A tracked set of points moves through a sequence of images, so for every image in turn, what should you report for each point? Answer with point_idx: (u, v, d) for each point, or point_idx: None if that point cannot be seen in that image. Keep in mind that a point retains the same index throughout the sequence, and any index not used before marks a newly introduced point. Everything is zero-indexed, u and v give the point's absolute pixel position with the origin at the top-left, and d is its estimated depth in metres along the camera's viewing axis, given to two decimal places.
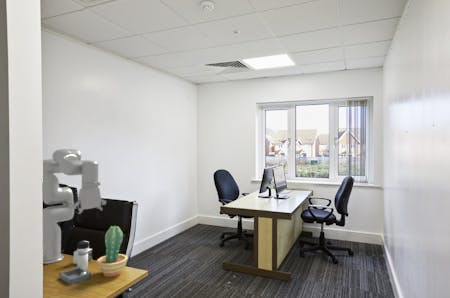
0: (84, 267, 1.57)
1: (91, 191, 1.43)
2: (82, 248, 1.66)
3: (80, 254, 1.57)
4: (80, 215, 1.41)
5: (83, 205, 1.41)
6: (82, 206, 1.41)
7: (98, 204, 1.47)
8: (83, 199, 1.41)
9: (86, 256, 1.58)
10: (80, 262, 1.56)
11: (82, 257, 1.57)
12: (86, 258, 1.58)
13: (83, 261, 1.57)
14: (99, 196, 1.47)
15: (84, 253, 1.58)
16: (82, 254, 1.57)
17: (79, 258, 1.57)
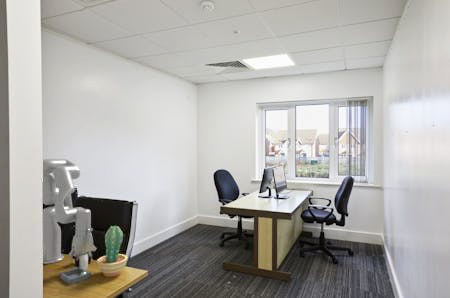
0: (84, 267, 1.57)
1: (83, 238, 1.57)
2: None
3: (80, 254, 1.57)
4: (77, 261, 1.56)
5: (77, 251, 1.54)
6: (76, 252, 1.54)
7: (90, 249, 1.60)
8: (76, 245, 1.54)
9: (86, 256, 1.58)
10: (80, 262, 1.56)
11: (82, 257, 1.57)
12: (86, 258, 1.58)
13: (83, 261, 1.57)
14: (91, 241, 1.61)
15: (84, 253, 1.58)
16: (82, 254, 1.57)
17: (79, 258, 1.57)
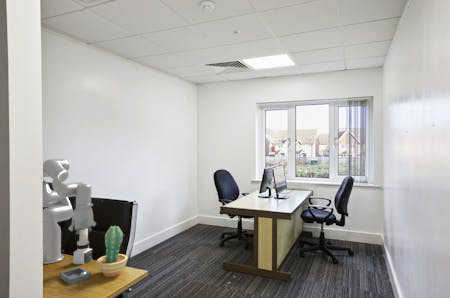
0: (84, 241, 1.57)
1: (84, 212, 1.57)
2: (82, 248, 1.66)
3: (80, 228, 1.57)
4: (77, 235, 1.56)
5: (77, 225, 1.55)
6: (76, 226, 1.55)
7: (90, 223, 1.61)
8: (76, 219, 1.55)
9: (86, 230, 1.58)
10: (80, 236, 1.57)
11: (82, 231, 1.57)
12: (86, 232, 1.58)
13: (83, 235, 1.57)
14: (91, 216, 1.61)
15: (84, 227, 1.58)
16: (82, 228, 1.57)
17: (79, 232, 1.57)
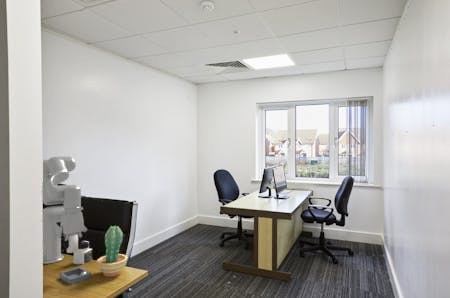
0: (74, 248, 1.45)
1: (73, 216, 1.46)
2: (82, 248, 1.66)
3: (69, 234, 1.45)
4: (66, 242, 1.44)
5: (65, 231, 1.43)
6: (64, 232, 1.43)
7: (81, 229, 1.49)
8: (65, 224, 1.43)
9: (76, 236, 1.47)
10: (69, 243, 1.45)
11: (71, 237, 1.45)
12: (76, 238, 1.46)
13: (73, 242, 1.45)
14: (82, 221, 1.49)
15: (74, 233, 1.46)
16: (71, 234, 1.45)
17: (68, 238, 1.45)
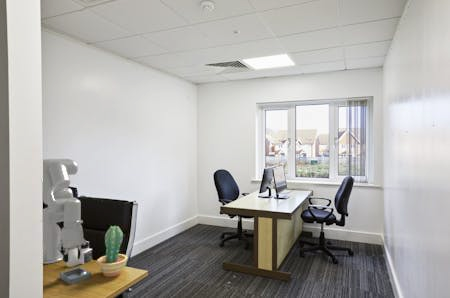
0: (73, 262, 1.46)
1: (73, 230, 1.46)
2: (82, 248, 1.66)
3: (69, 248, 1.45)
4: (66, 256, 1.44)
5: (65, 245, 1.43)
6: (64, 246, 1.43)
7: (80, 242, 1.49)
8: (64, 238, 1.43)
9: (75, 250, 1.47)
10: (69, 256, 1.45)
11: (71, 251, 1.45)
12: (75, 252, 1.46)
13: (72, 255, 1.45)
14: (81, 234, 1.49)
15: (73, 247, 1.46)
16: (71, 248, 1.46)
17: (68, 252, 1.45)
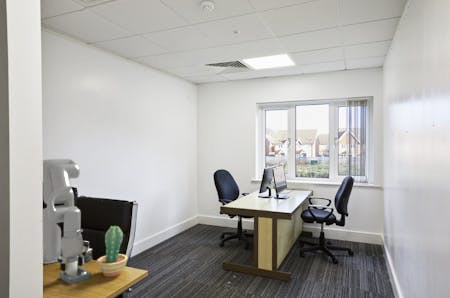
0: (73, 275, 1.46)
1: (72, 239, 1.46)
2: None
3: (69, 261, 1.45)
4: (63, 265, 1.43)
5: (65, 254, 1.43)
6: (64, 255, 1.43)
7: (80, 251, 1.49)
8: (64, 248, 1.43)
9: (75, 263, 1.47)
10: (69, 269, 1.45)
11: (71, 264, 1.45)
12: (75, 265, 1.46)
13: (72, 268, 1.45)
14: (81, 243, 1.49)
15: (73, 260, 1.46)
16: (71, 261, 1.46)
17: (68, 265, 1.45)
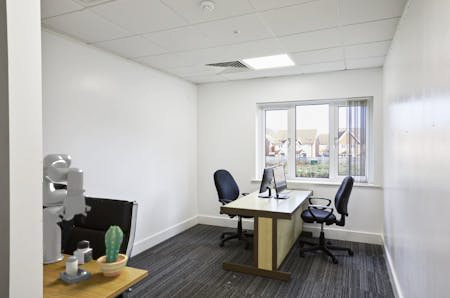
0: (73, 275, 1.46)
1: (75, 198, 1.51)
2: (82, 248, 1.66)
3: (69, 261, 1.46)
4: (64, 221, 1.48)
5: (67, 211, 1.48)
6: (66, 212, 1.48)
7: (82, 210, 1.54)
8: (67, 205, 1.48)
9: (75, 263, 1.47)
10: (69, 269, 1.45)
11: (71, 264, 1.45)
12: (75, 265, 1.46)
13: (72, 268, 1.45)
14: (83, 203, 1.55)
15: (73, 260, 1.46)
16: (71, 261, 1.46)
17: (68, 265, 1.45)
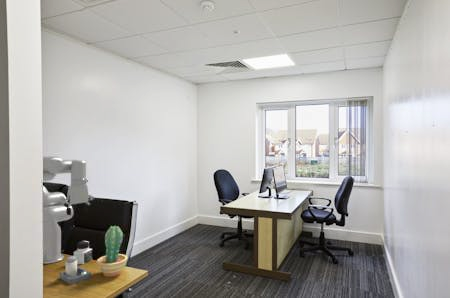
0: (73, 275, 1.46)
1: (79, 187, 1.59)
2: (82, 248, 1.66)
3: (68, 261, 1.45)
4: (69, 209, 1.56)
5: (72, 200, 1.56)
6: (71, 201, 1.56)
7: (86, 199, 1.62)
8: (71, 194, 1.56)
9: (75, 263, 1.46)
10: (68, 270, 1.45)
11: (70, 264, 1.45)
12: (74, 265, 1.46)
13: (71, 269, 1.45)
14: (87, 192, 1.63)
15: (72, 260, 1.46)
16: (70, 261, 1.45)
17: (67, 265, 1.45)
